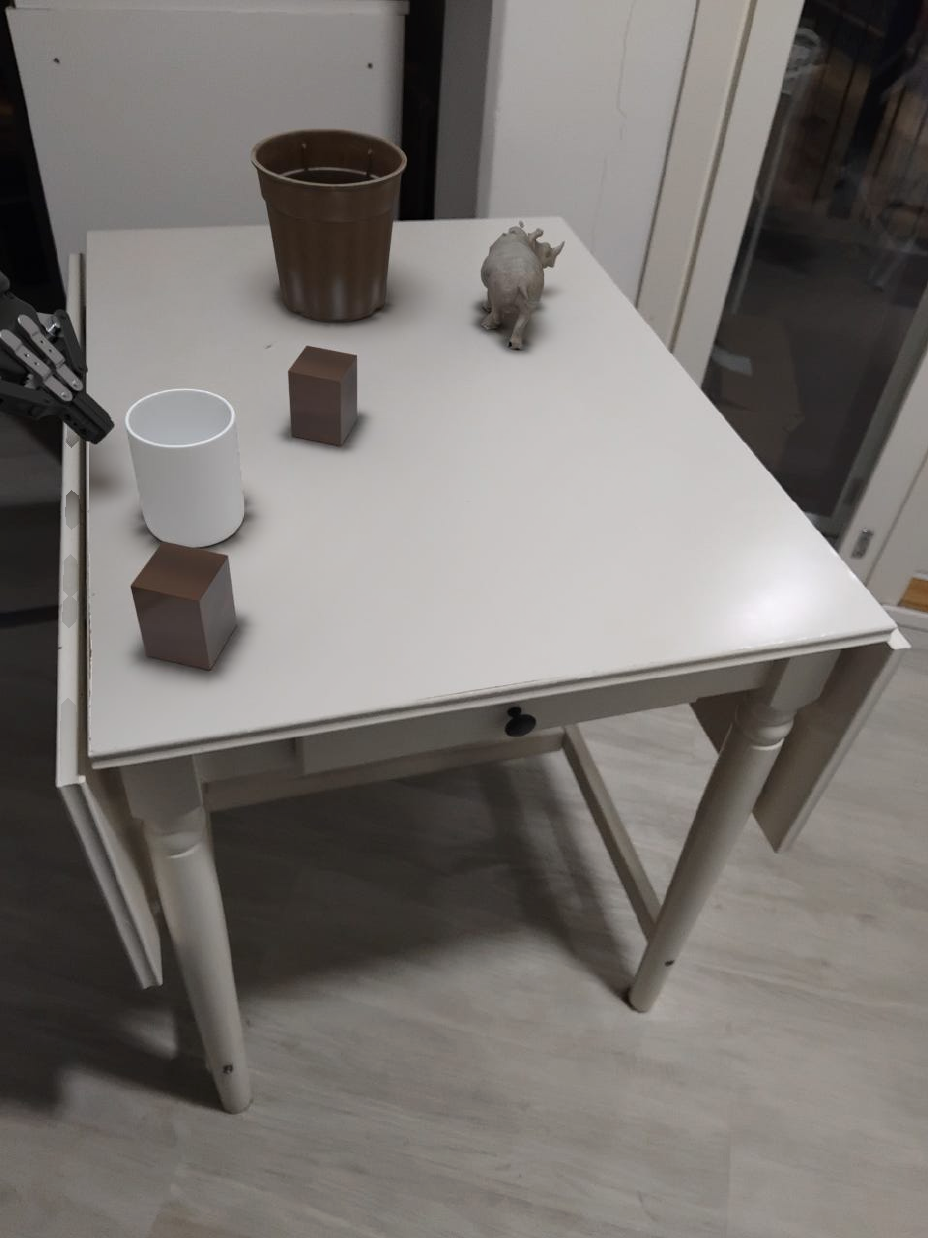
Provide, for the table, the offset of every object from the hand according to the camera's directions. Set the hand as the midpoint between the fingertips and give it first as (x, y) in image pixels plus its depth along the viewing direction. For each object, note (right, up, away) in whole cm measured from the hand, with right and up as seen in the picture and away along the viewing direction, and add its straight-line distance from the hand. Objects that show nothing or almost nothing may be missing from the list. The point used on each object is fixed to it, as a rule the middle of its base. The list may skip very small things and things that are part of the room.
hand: (105, 435), depth 79 cm
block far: (+16, +3, +13) cm, 21 cm away
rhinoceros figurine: (+36, +21, +33) cm, 53 cm away
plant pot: (+15, +22, +32) cm, 41 cm away
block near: (+10, -17, -8) cm, 21 cm away
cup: (+7, -6, +3) cm, 9 cm away
